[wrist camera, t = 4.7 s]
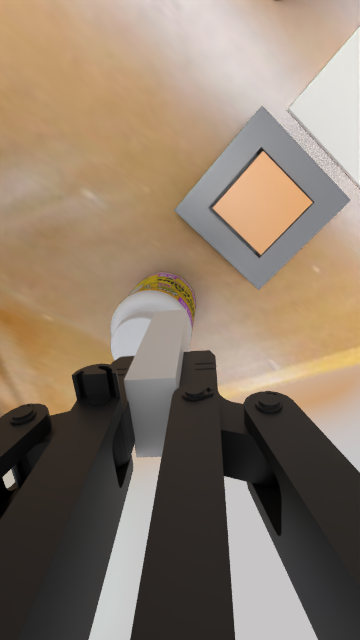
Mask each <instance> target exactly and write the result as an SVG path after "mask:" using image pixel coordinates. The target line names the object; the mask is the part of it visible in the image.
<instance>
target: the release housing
mask: <svg viewBox="0 0 360 640" xmlns="http://www.w3.org/2000/svg"><path fill="white" fill-rule="evenodd" d="M262 151H264V152H265V153H266V154H267V155H268V157H269V158H270V159H271V160H272V161H273V162H274V163H275V164H276V165H277V166H278V167H279V168H280V169H281V170H282V171H283V172H284V173H285V174H286V175H287V176H288V177H289V178H290V179H291V180H292V181H293V182H294V183H295V185H296V186H297V187H298V188H299V189H300V190H301V191H302V192H303V193H304V194H305V195H306V196H307V197H308V198H309V199H310V200H311V201H312V202H313V203H312V204H311V205H310V206H309V207H308V208H307V209H306V210H305V211H304V212H303V213H302V214H301V215H300V216H299V217H298V218H297V219H296V220H295V221H294V222H293V223H292V224H291V225H290V226H289V227H288V228H287V229H286V230H285V231H284V232H283V233H282V234H281V235H280V236H279V237H278V238H277V239H276V240H275V241H274V242H273V243H272V244H271V245H270V246H269V247H268V248H267V249H266V250H265V251H264V252H263V253H262V254H261V255H260V254H259V253H258V252H257V251H256V250H255V249H254V248H253V247H252V246H251V245H250V244H249V243H248V242H247V241H246V240H244V239H243V238H242V237H241V236H240V235H239V234H238V233H237V232H236V231H235V230H234V229H233V228H232V227H231V226H230V225H229V224H228V223H227V222H226V221H225V220H224V219H223V218H222V217H221V216H220V215H219V214H218V213H216V212H215V211H214V210H213V209H212V207H213V206H214V205H215V204H216V203H217V202H218V201H219V200H220V198H221V197H222V196H223V195H224V194H225V193H226V192H227V190H228V189H229V188H230V187H231V186H232V185H233V184H234V182H235V181H236V180H237V179H238V178H239V177H240V176H241V175H242V173H243V172H244V171H245V170H246V169H247V168H248V167H249V165H250V164H251V163H252V162H253V161H254V160H255V159H256V157H257V156H258V155H259V154H260V153H261V152H262ZM349 201H350V199H349V198H348V197H347V196H346V194H345V193H344V192H343V191H342V190H341V189H340V188H339V187H338V186H337V185H336V184H335V183H334V182H333V181H332V180H331V178H330V177H329V176H328V175H327V174H326V173H325V172H324V171H323V170H322V169H321V168H320V167H319V166H318V165H317V164H316V162H315V161H314V160H313V159H312V158H311V157H310V156H309V155H308V154H307V153H306V152H305V151H304V150H303V149H302V148H301V146H300V145H299V144H298V143H297V142H296V141H295V140H294V139H293V138H292V137H291V136H290V135H289V134H288V133H287V132H286V130H285V129H284V128H283V127H282V126H281V125H280V124H279V123H278V122H277V121H276V120H275V119H274V118H273V117H272V116H271V114H270V113H269V112H268V111H267V110H266V109H265V108H264V107H263V106H261V108H260V109H259V110H258V111H257V112H256V113H255V115H254V116H253V117H252V118H251V119H250V121H249V122H248V123H247V124H246V125H245V127H244V128H243V129H242V130H241V131H240V133H239V134H238V135H237V136H236V137H235V138H234V140H233V141H232V142H231V143H230V144H229V146H228V147H227V148H226V149H225V150H224V152H223V153H222V154H221V155H220V156H219V157H218V159H217V160H216V161H215V162H214V163H213V165H212V166H211V167H210V168H209V169H208V171H207V172H206V173H205V174H204V175H203V177H202V178H201V179H200V180H199V181H198V182H197V184H196V185H195V186H194V187H193V188H192V190H191V191H190V192H189V193H188V194H187V196H186V197H185V198H184V199H183V200H182V202H181V203H180V204H179V205H178V206H177V207H176V209H175V210H174V211H175V212H176V213H177V214H178V215H179V216H180V217H181V218H183V219H184V220H185V221H186V222H187V223H188V224H189V225H190V226H191V227H192V228H193V229H194V230H195V231H196V232H197V233H198V234H200V235H201V236H202V237H203V238H204V239H205V240H206V241H207V242H208V243H209V244H210V245H211V246H212V247H213V248H214V249H216V250H217V251H218V252H219V253H220V254H221V255H222V256H223V257H224V258H225V259H226V260H227V261H228V262H229V263H230V264H231V265H233V266H234V267H235V268H236V269H237V270H238V271H239V272H240V273H241V274H242V275H243V276H244V277H245V278H246V279H247V280H248V281H250V282H251V283H252V284H253V285H254V286H255V287H256V288H257V289H258V290H259V289H260V288H261V287H262V286H263V285H264V284H265V283H267V282H268V281H269V280H270V279H271V278H272V277H273V276H274V275H275V274H276V273H277V272H278V271H279V270H280V269H281V268H282V267H283V266H284V265H285V264H286V263H287V262H288V261H289V260H290V259H291V258H292V257H293V256H294V255H295V254H296V253H297V252H298V251H299V250H300V249H301V248H302V247H303V246H304V245H305V244H306V243H307V242H308V241H309V240H310V239H311V238H313V237H314V236H315V235H316V234H317V233H318V232H319V231H320V230H321V229H322V228H323V227H324V226H325V225H326V224H327V223H328V222H329V221H330V220H331V219H332V218H333V217H334V216H335V215H336V214H337V213H338V212H339V211H340V210H341V209H342V208H343V207H344V206H345V205H346V204H347V203H348V202H349Z"/></svg>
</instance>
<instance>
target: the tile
mask: <svg viewBox="0 0 360 640" xmlns="http://www.w3.org/2000/svg"><path fill="white" fill-rule="evenodd" d="M287 111H288V112H289V113H290V114H291V115H292V116H293V117H294V118H295V119H296V120H297V121H298V122H299V123H300V125H301V126H302V127H303V128H304V129H305V130H306V131H307V132H308V133H309V134H310V135H311V136H312V138H313V139H314V140H315V141H316V142H317V143H318V144H319V145H320V146H321V147H322V148H323V149H324V151H325V152H326V153H327V154H328V155H329V156H330V157H331V158H332V159H333V160H334V161H335V162H336V164H337V165H338V166H339V167H340V168H341V169H342V170H343V171H344V172H345V173H346V174H347V175H348V177H349V178H350V179H351V180H352V181H353V182H354V183H355V184H356V185H357V186H358V187H359V188H360V27H359V28H358V29H357V30H356V31H355V32H354V34H353V35H352V36H351V37H350V38H349V39H348V40H347V42H346V43H345V44H344V45H343V46H342V47H341V49H340V50H339V51H338V52H337V53H336V54H335V55H334V57H333V58H332V59H331V60H330V61H329V62H328V64H327V65H326V66H325V67H324V68H323V69H322V70H321V72H320V73H319V74H318V75H317V76H316V77H315V78H314V80H313V81H312V82H311V83H310V84H309V85H308V87H307V88H306V89H305V90H304V91H303V92H302V93H301V95H300V96H299V97H298V98H297V99H296V100H295V101H294V103H293V104H292V105H291V106H290V107H289V108H288V110H287Z"/></svg>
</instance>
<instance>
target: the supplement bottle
mask: <svg viewBox="0 0 360 640" xmlns="http://www.w3.org/2000/svg"><path fill="white" fill-rule="evenodd" d="M195 306H196V302H195V296H194V293H193V290H192V289H191V287H190V286H189V284H188V283H187V282H186V281H185V280H184V279H182V278H181V277H179V276H177V275H175V274H171V273H165V272H162V273H155V274H152V275H150V276H148V277H146V278H145V279H144V280H142V281H141V282H140V283H139V284H138V285H137V286H136V287H135V288H134V289H133V290H132V291H131V293H130V294H129V295H128V296H127V297H126V298H125V299H124V300H123V301H122V302H121V303H120V305H119V306H118V307H117V309H116V310H115V312H114V314H113V317H112V320H111V337H112V339H111V352H112V356H113V358H114V360H116V359H118V358H119V357H122V356H135V355H136V352H137V350H138V348H139V346H140V344H141V342H142V339H143V337H144V335H145V333H146V331H147V328H148V326H149V324H150V322H151V320H152V317H153V315H154V313H155V311H169V310H183V309H187V318H188V329H189V340H190V341H191V336H192V328H193V321H194V314H195Z"/></svg>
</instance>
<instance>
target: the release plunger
mask: <svg viewBox="0 0 360 640" xmlns="http://www.w3.org/2000/svg"><path fill="white" fill-rule="evenodd" d="M312 203H313V202H312V201H311V200H310V199H309V198H308V197H307V196H306V195H305V194H304V193H303V192H302V191H301V190H300V189H299V188H298V187H297V186H296V185H295V183H294V182H293V181H292V180H291V179H290V178H289V177H288V176H287V175H286V174H285V173H284V172H283V171H282V170H281V169H280V168H279V167H278V166H277V165H276V164H275V163H274V162H273V161H272V160H271V159H270V158H269V157H268V155H267V154H266V153H265V152H264V151H262V152H261V153H260V154H259V155H258V156H257V157H256V159H255V160H254V161H253V162H252V163H251V164H250V165H249V167H248V168H247V169H246V170H245V171H244V172H243V173H242V175H241V176H240V177H239V178H238V179H237V180H236V181H235V182H234V184H233V185H232V186H231V187H230V188H229V189H228V190H227V192H226V193H225V194H224V195H223V196H222V197H221V198H220V200H219V201H218V202H217V203H216V204H215V205H214V206H213V207H212V209H213V210H214V211H215V212H216V213H218V214H219V215H220V216H221V217H222V218H223V219H224V220H225V221H226V222H227V223H228V224H229V225H230V226H231V227H232V228H233V229H234V230H235V231H236V232H237V233H238V234H239V235H240V236H241V237H242V238H243V239H244V240H246V241H247V242H248V243H249V244H250V245H251V246H252V247H253V248H254V249H255V250H256V251H257V252H258V253H259V254H260V255H261V254H262V253H263V252H264V251H265V250H266V249H267V248H268V247H269V246H270V245H271V244H272V243H273V242H274V241H275V240H276V239H277V238H278V237H279V236H280V235H281V234H282V233H283V232H284V231H285V230H286V229H287V228H288V227H289V226H290V225H291V224H292V223H293V222H294V221H295V220H296V219H297V218H298V217H299V216H300V215H301V214H302V213H303V212H304V211H305V210H306V209H307V208H308V207H309V206H310V205H311V204H312Z"/></svg>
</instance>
